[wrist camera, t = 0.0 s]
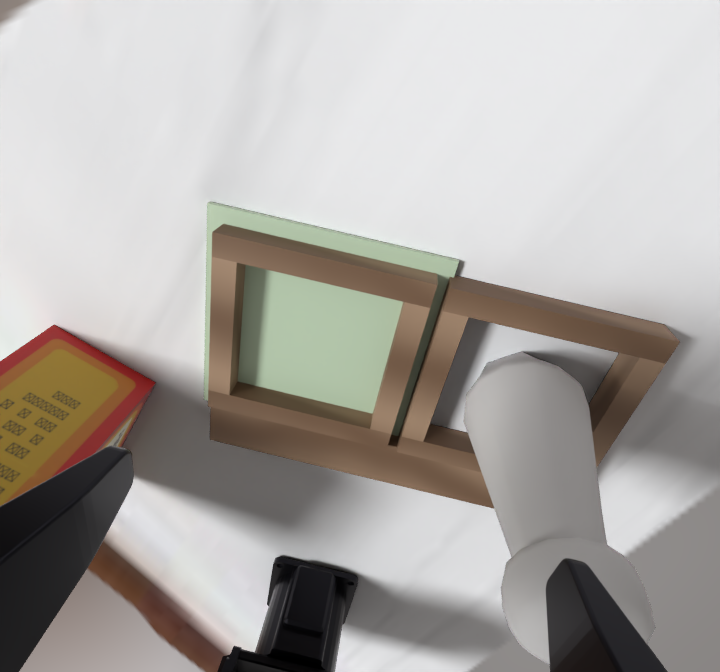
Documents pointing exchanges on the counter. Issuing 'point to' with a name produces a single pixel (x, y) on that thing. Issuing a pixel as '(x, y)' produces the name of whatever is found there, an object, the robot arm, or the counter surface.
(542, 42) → the counter surface
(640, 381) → the frame
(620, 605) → the salt shaker
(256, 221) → the card
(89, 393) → the baking soda box
